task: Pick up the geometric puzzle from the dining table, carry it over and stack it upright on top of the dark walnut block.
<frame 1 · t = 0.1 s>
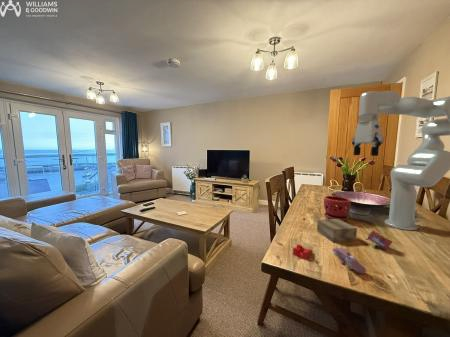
hand: (365, 155, 91), 37 cm above the table, tool pointing down, fingers open, 9 cm apart
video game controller: (347, 266, 65), on the table
plant pot: (335, 218, 109), on the table
walnut block: (335, 236, 87), on the table
bracket: (302, 255, 72), on the table
geometric puzzle: (378, 248, 76), on the table
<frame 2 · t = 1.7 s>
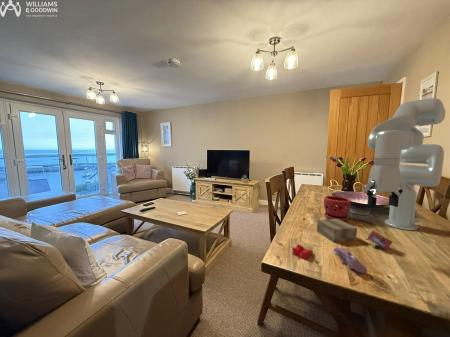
hand: (382, 206, 74), 17 cm above the table, tool pointing down, fingers open, 9 cm apart
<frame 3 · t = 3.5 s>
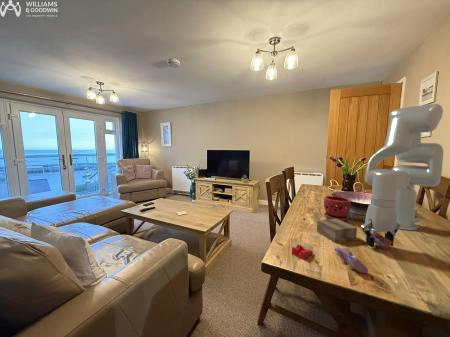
hand: (379, 244, 76), 1 cm above the table, tool pointing down, fingers closed on geometric puzzle, 8 cm apart
geometric puzzle: (378, 248, 76), on the table, touching gripper
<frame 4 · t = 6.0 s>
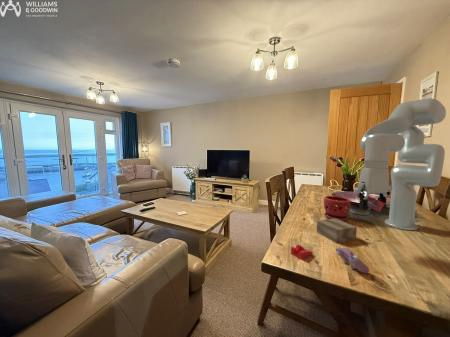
hand: (372, 207, 77), 16 cm above the table, tool pointing down, fingers closed on geometric puzzle, 8 cm apart
geometric puzzle: (372, 211, 77), point 14 cm above the table, touching gripper
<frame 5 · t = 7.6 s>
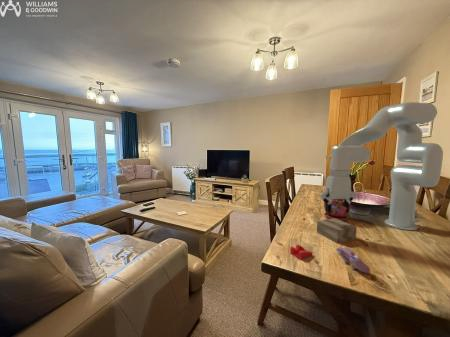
hand: (336, 211, 86), 11 cm above the table, tool pointing down, fingers closed on geometric puzzle, 8 cm apart
geometric puzzle: (336, 214, 86), point 10 cm above the table, touching gripper
when the fingers open (8 cm above the table, at t = 8.7 s): geometric puzzle drops 1 cm, point 5 cm above the table.
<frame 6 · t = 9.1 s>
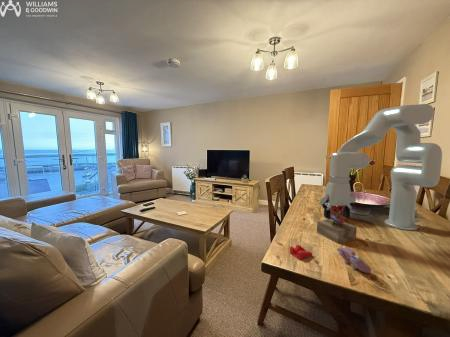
hand: (336, 217, 86), 9 cm above the table, tool pointing down, fingers open, 9 cm apart
geometric puzzle: (336, 224, 86), point 5 cm above the table
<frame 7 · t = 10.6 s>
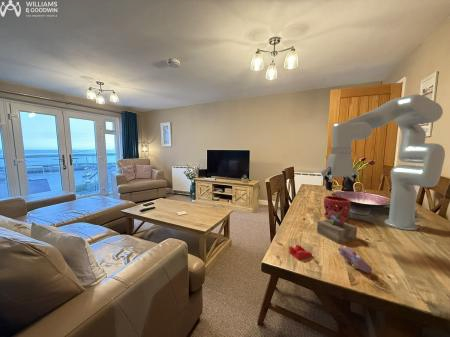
hand: (338, 189, 85), 22 cm above the table, tool pointing down, fingers open, 9 cm apart
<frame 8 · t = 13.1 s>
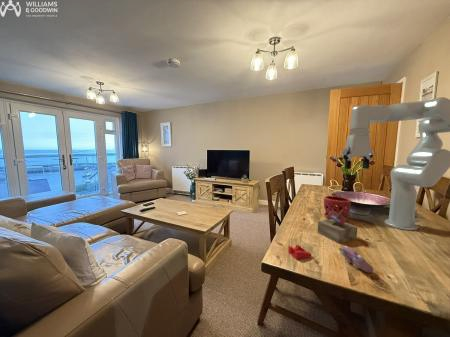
hand: (356, 168, 92), 30 cm above the table, tool pointing down, fingers open, 9 cm apart
walnut block: (336, 236, 87), on the table, touching geometric puzzle
geometric puzzle: (336, 224, 86), point 5 cm above the table, touching walnut block
at the end: geometric puzzle 0.4 cm from the walnut block (horizontally); geometric puzzle point 5.4 cm above the table; geometric puzzle tilted 1° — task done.
